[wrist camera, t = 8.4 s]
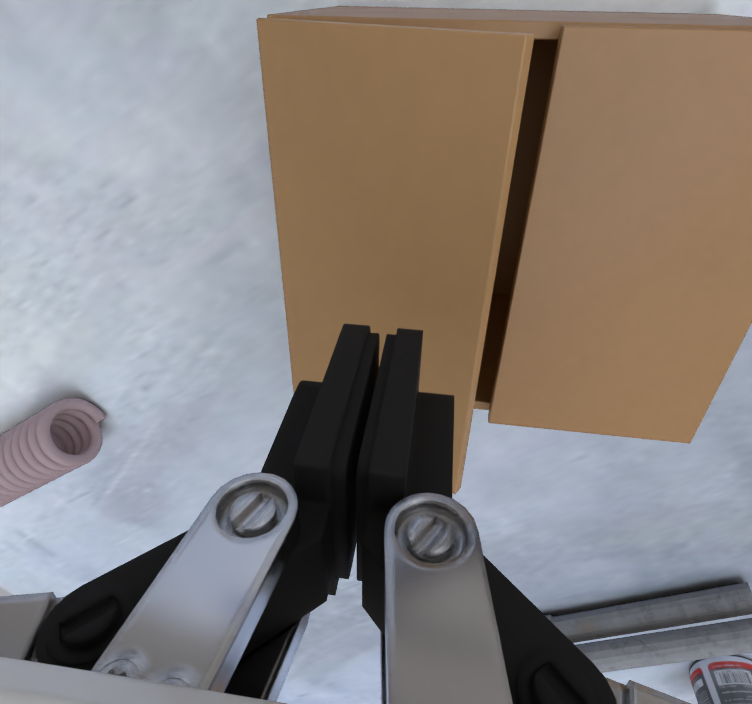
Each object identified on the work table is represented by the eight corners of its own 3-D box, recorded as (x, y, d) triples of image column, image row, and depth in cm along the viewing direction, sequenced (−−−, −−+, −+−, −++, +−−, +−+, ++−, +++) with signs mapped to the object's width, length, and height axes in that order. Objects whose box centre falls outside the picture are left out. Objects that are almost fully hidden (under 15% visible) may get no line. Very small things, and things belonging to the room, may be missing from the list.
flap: (301, 398, 20) (294, 403, 20) (267, 17, 13) (255, 18, 13) (461, 487, 17) (455, 495, 17) (535, 33, 10) (526, 34, 9)
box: (343, 284, 29) (295, 404, 20) (337, 5, 21) (256, 15, 13) (621, 306, 27) (691, 445, 19) (718, 14, 20) (905, 31, 11)
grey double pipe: (741, 570, 38) (775, 641, 34) (750, 591, 39) (784, 661, 35) (433, 629, 48) (430, 688, 44) (447, 643, 49) (446, 702, 45)
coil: (-41, 539, 42) (92, 474, 34) (-100, 510, 39) (28, 433, 32) (-4, 491, 45) (123, 422, 38) (-56, 461, 43) (69, 382, 36)
